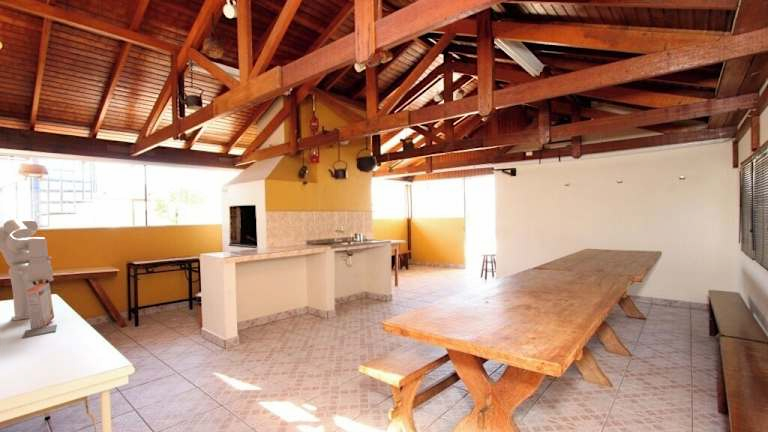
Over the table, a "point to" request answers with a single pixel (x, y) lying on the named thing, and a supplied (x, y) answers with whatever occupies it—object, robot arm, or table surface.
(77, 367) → the table surface
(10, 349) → the table surface
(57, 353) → the table surface
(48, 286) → the cracker box
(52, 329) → the mat
